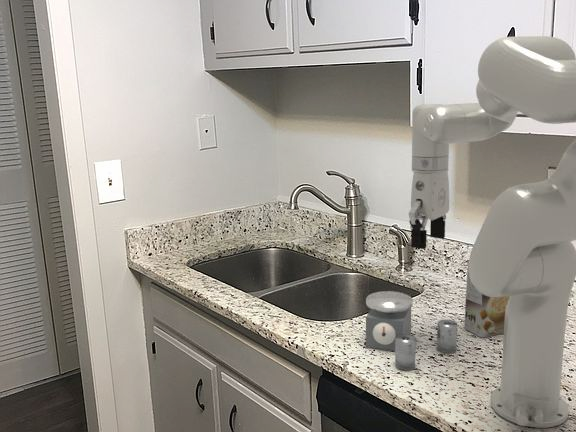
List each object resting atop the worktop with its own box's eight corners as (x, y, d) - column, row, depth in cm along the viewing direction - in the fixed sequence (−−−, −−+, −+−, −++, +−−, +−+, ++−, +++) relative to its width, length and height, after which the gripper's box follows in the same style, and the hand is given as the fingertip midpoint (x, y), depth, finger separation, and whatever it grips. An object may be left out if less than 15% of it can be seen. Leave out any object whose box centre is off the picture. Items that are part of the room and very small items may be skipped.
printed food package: (481, 339, 132) (485, 269, 128) (463, 328, 138) (466, 261, 134) (515, 331, 135) (519, 263, 131) (495, 321, 141) (499, 255, 137)
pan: (408, 321, 125) (408, 310, 124) (361, 316, 128) (361, 305, 128) (415, 304, 134) (416, 293, 133) (371, 299, 137) (371, 289, 137)
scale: (402, 353, 126) (402, 322, 124) (364, 348, 129) (364, 318, 127) (410, 333, 136) (411, 304, 134) (375, 328, 139) (376, 300, 137)
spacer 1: (413, 372, 118) (414, 344, 117) (393, 369, 120) (393, 341, 118) (416, 363, 122) (417, 335, 120) (397, 360, 123) (397, 333, 122)
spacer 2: (455, 355, 125) (456, 328, 123) (435, 352, 126) (436, 325, 125) (457, 346, 128) (458, 320, 127) (437, 344, 130) (438, 318, 128)
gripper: (429, 170, 117) (427, 255, 121) (462, 159, 130) (460, 235, 134) (394, 168, 121) (394, 249, 125) (430, 158, 135) (428, 231, 139)
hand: (428, 242), depth 130 cm, fingers open, 9 cm apart
